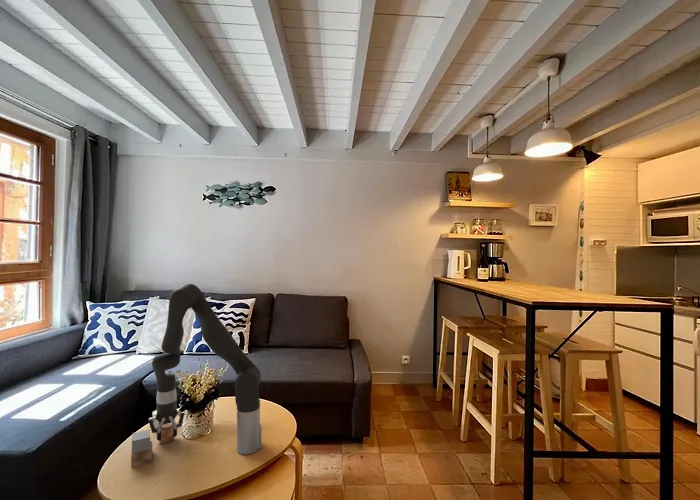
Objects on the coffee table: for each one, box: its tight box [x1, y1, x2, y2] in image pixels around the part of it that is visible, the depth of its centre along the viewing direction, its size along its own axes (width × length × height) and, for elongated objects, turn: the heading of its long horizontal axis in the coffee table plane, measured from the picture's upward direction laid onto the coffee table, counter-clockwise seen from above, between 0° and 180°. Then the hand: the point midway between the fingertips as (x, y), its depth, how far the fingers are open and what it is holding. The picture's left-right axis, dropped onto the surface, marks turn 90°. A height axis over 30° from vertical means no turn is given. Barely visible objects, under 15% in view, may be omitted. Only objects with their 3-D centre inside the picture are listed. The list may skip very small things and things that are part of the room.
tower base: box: [130, 440, 154, 469], centre depth 140 cm, size 7×7×5 cm
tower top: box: [131, 429, 151, 454], centre depth 139 cm, size 6×6×5 cm
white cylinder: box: [151, 409, 169, 428], centre depth 164 cm, size 7×7×7 cm
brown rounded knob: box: [160, 423, 175, 445], centre depth 153 cm, size 5×5×6 cm
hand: (167, 438), depth 153 cm, fingers closed on brown rounded knob, 5 cm apart
